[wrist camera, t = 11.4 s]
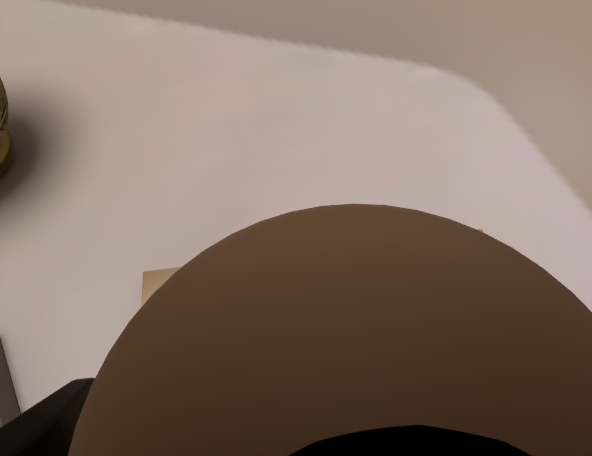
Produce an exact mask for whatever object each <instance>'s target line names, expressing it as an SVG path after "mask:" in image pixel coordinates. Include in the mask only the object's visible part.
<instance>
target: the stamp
mask: <svg viewBox="0 0 592 456" xmlns="http://www.w3.org/2000/svg"><path fill="white" fill-rule="evenodd" d="M68 456H592V312H591V311H590V310H589V309H588V308H587V307H586V306H585V305H584V304H583V303H582V302H581V301H580V300H579V299H578V298H577V297H576V296H575V295H574V294H573V293H572V292H571V291H570V290H569V289H567V288H566V287H565V286H564V285H563V284H561V283H560V282H559V281H558V280H557V279H555V278H554V277H553V276H552V275H551V274H549V273H548V272H547V271H546V270H545V269H543V268H542V267H540V266H539V265H537V264H536V263H534V262H533V261H531V260H530V259H528V258H527V257H525V256H524V255H522V254H521V253H519V252H518V251H516V250H515V249H513V248H512V247H510V246H508V245H506V244H504V243H502V242H500V241H498V240H496V239H494V238H493V237H491V236H489V235H487V234H485V233H483V232H481V231H479V230H476V229H474V228H471V227H468V226H466V225H463V224H461V223H458V222H456V221H453V220H451V219H448V218H444V217H440V216H437V215H433V214H429V213H425V212H422V211H418V210H413V209H406V208H400V207H393V206H387V205H369V204H343V205H330V206H319V207H314V208H309V209H304V210H298V211H293V212H289V213H286V214H282V215H279V216H276V217H273V218H270V219H266V220H263V221H260V222H258V223H256V224H253V225H251V226H249V227H247V228H244V229H242V230H240V231H238V232H235V233H233V234H231V235H229V236H228V237H226V238H224V239H223V240H221V241H219V242H218V243H216V244H214V245H212V246H211V247H209V248H207V249H206V250H204V251H203V252H201V253H200V254H199V255H197V256H196V257H195V258H193V259H192V260H191V261H189V262H188V263H187V264H185V265H184V266H183V267H181V268H180V269H179V270H177V271H176V272H175V273H174V274H173V275H172V276H171V277H170V278H169V279H168V280H167V281H166V282H165V283H164V284H163V285H162V286H161V287H160V288H158V289H157V290H156V291H155V292H154V293H153V294H152V295H151V297H150V298H149V299H148V300H147V301H146V303H145V304H144V305H143V306H142V307H141V308H140V310H139V311H138V312H137V313H136V314H135V316H134V317H133V318H132V319H131V320H130V322H129V323H128V325H127V326H126V328H125V329H124V331H123V332H122V334H121V335H120V336H119V338H118V339H117V341H116V342H115V344H114V345H113V347H112V348H111V350H110V351H109V353H108V355H107V357H106V359H105V361H104V363H103V365H102V367H101V368H100V370H99V372H98V374H97V376H96V378H95V380H94V382H93V384H92V386H91V388H90V391H89V393H88V396H87V398H86V401H85V403H84V406H83V408H82V411H81V414H80V416H79V419H78V421H77V424H76V427H75V431H74V434H73V438H72V442H71V446H70V449H69V453H68Z"/></svg>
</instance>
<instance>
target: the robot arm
mask: <svg viewBox="0 0 592 456" xmlns="http://www.w3.org/2000/svg"><path fill="white" fill-rule="evenodd" d="M94 380H95V378H84V379H76V380H73V381H71V382H70V383H68V384H66V385H65V386H63V387H62V388H60V389H59V390H57V391H56V392H54V393H53V394H51V395H50V396H48V397H47V398H45V399H43V400H42V401H40V402H39V403H37V404H36V405H34V406H33V407H31V408H30V409H28V410H27V411H25V412H23V413H22V414H20V415H19V416H17V417H16V418H14V419H13V420H11V421H10V422H8V423H7V424H5V425H3V426H2V427H0V456H68V453H69V449H70V446H71V442H72V438H73V434H74V431H75V427H76V424H77V421H78V419H79V416H80V414H81V411H82V408H83V406H84V403H85V401H86V398H87V396H88V393H89V391H90V388H91V386H92V384H93V382H94Z"/></svg>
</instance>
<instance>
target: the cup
mask: <svg viewBox="0 0 592 456" xmlns="http://www.w3.org/2000/svg"><path fill="white" fill-rule="evenodd" d="M7 120H8V100H7V96H6V91H5V88H4V85H3V83H2V81H1V78H0V176H1V175H2V174H3V173H4V172H5V170H6V169H7V168H8V166H9V164H10V163H11V160H12V158H13V153H14V146H13V141H12V138H11V135H10V133H9V131H8V129H7V128H6V124H7Z"/></svg>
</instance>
